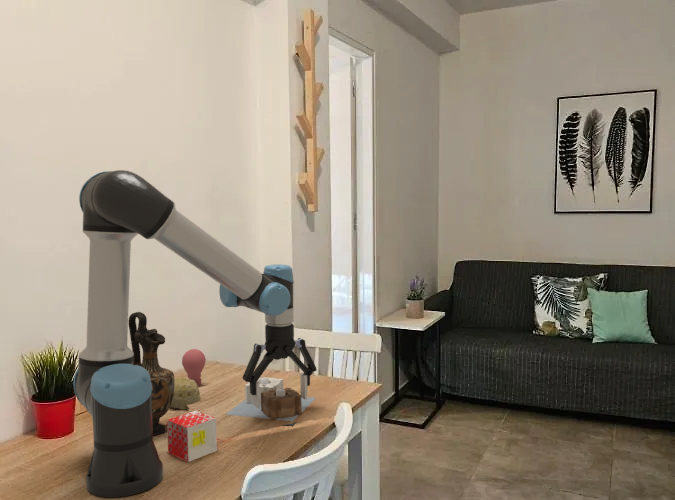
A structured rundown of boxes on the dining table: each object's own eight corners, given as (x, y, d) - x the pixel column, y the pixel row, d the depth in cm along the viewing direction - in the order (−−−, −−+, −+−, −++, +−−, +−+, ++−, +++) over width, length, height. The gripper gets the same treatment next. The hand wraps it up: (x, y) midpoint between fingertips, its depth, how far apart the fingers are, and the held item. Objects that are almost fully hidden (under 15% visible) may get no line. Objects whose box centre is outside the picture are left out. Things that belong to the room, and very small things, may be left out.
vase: (149, 442, 150) (145, 320, 147) (115, 432, 156) (110, 315, 153) (185, 427, 159) (182, 311, 157) (152, 418, 166) (148, 307, 163)
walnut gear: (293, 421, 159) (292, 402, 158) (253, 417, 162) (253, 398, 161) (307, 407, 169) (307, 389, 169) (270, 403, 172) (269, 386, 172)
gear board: (292, 426, 159) (292, 398, 158) (225, 419, 164) (224, 392, 164) (316, 402, 177) (316, 377, 176) (255, 397, 183) (254, 372, 182)
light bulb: (180, 385, 194) (179, 348, 193) (203, 382, 197) (202, 345, 196) (185, 392, 188) (184, 353, 186) (208, 389, 190) (207, 350, 189)
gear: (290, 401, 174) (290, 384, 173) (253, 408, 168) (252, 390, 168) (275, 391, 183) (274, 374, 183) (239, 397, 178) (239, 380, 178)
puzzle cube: (188, 462, 139) (187, 427, 138) (168, 452, 144) (166, 419, 143) (217, 450, 145) (216, 417, 144) (196, 442, 150) (195, 410, 149)
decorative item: (201, 416, 177) (206, 383, 183) (192, 405, 169) (197, 371, 174) (169, 416, 178) (175, 383, 183) (158, 405, 170) (164, 371, 175)
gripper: (315, 316, 172) (316, 390, 174) (229, 326, 161) (231, 405, 163) (328, 321, 166) (329, 398, 168) (238, 331, 154) (240, 414, 156)
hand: (280, 402), depth 165 cm, fingers open, 13 cm apart
